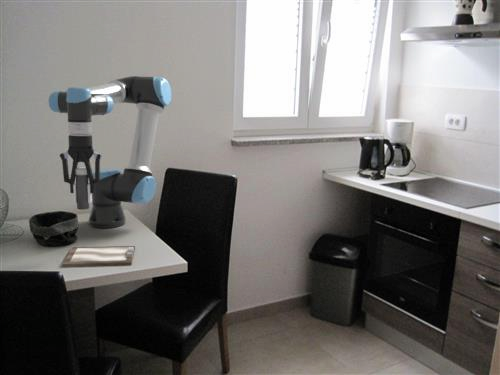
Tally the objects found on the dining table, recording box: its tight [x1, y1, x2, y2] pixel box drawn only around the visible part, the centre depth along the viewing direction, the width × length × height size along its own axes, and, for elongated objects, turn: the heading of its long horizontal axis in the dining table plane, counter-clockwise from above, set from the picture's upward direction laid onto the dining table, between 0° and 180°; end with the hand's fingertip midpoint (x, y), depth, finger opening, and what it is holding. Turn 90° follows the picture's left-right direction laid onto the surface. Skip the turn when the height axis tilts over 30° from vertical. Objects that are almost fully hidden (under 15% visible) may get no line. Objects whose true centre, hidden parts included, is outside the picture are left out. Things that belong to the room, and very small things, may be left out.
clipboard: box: [62, 245, 136, 268], centre depth 165 cm, size 16×22×2 cm
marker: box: [75, 166, 90, 211], centre depth 163 cm, size 4×4×14 cm
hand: (82, 202), depth 164 cm, fingers closed on marker, 4 cm apart
